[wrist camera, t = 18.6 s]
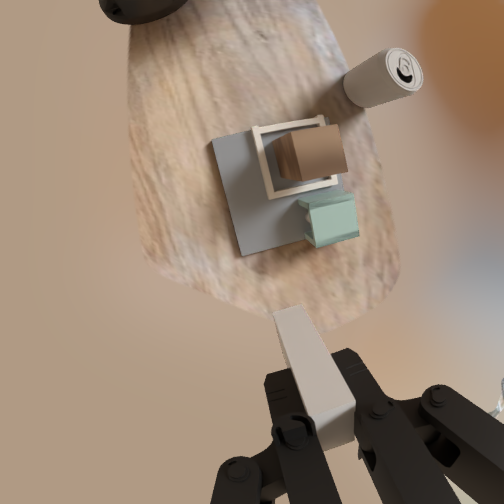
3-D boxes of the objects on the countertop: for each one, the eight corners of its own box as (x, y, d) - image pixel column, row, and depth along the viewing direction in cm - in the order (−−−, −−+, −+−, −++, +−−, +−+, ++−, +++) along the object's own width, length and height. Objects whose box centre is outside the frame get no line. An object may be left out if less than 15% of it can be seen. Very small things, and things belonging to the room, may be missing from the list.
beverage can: (338, 101, 34) (381, 81, 23) (343, 64, 33) (384, 36, 21) (375, 114, 35) (425, 102, 24) (379, 78, 34) (426, 58, 22)
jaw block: (271, 141, 34) (290, 131, 25) (307, 133, 34) (337, 124, 25) (280, 177, 36) (302, 181, 26) (316, 169, 36) (348, 171, 26)
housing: (297, 198, 37) (308, 203, 32) (338, 189, 37) (353, 193, 32) (305, 238, 38) (316, 248, 34) (344, 228, 39) (359, 236, 34)
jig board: (211, 138, 34) (210, 135, 31) (324, 116, 35) (333, 112, 32) (241, 253, 39) (243, 261, 36) (346, 225, 40) (355, 230, 37)
